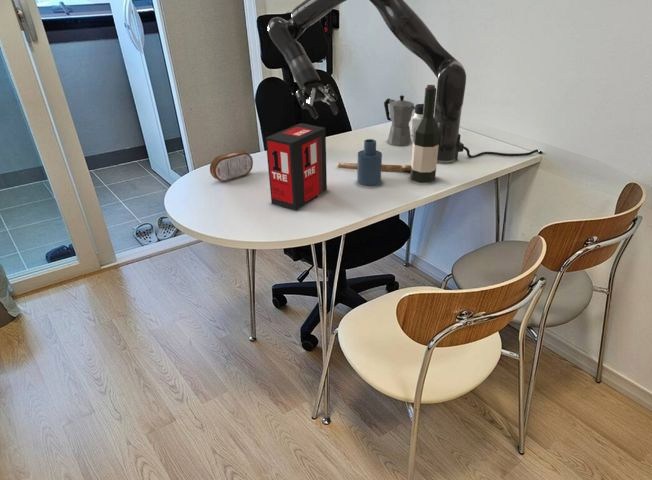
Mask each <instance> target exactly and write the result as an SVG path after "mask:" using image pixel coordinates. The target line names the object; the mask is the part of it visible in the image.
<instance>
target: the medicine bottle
mask: <svg viewBox="0 0 652 480" xmlns="http://www.w3.org/2000/svg"><path fill="white" fill-rule="evenodd" d="M414 106H415V109H414V114H413V115H412V117H411V128H410V137H413V135H414V128H415V126H416V125H417V124H418V122H419V121H420V119H421V118H422V116H423V108H424V102H422V103H421V102H420V103H417V104H415V105H414Z"/></svg>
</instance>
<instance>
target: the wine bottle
mask: <svg viewBox="0 0 652 480" xmlns="http://www.w3.org/2000/svg"><path fill="white" fill-rule="evenodd" d="M436 94H437V87H436V85H435V84H426V87H425V88H424V97H423V103H424V108H423V116H422V118H421V119H420V121H419V122H418V124H417V125H416V126H415V128H414V135H413V136H412V147H411V148H412V149H411V150H412V151H411V164H410V165H411V171H410V174H409V175H410V177H409V178H410V179H411V181H412V182H416V183H419V184H430V183H432V182H434V181H436V173H437V164H438V163H437V156H438V146H439V137H440V130H439V128H438V126H437V124H436V121H435V119H434V112H435V102H436Z"/></svg>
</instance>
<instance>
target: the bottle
mask: <svg viewBox="0 0 652 480" xmlns="http://www.w3.org/2000/svg"><path fill="white" fill-rule="evenodd" d="M382 161H383V153H382V152H381V150H380V151H379V150H377V140H376V139H372V138H368V139H364V141H363V149H361V150H359V151H358V152H357V163H358V169H357V171H356V172H357V175H356V176H357V178H356V181H357V184H359V185H360V186H363V187H376V186H379V185H380V184H381V182H382V170H381V165H382V164H383V163H382Z"/></svg>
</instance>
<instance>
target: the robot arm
mask: <svg viewBox="0 0 652 480" xmlns="http://www.w3.org/2000/svg"><path fill="white" fill-rule="evenodd" d="M346 1H347V0H303V1H302V2H301V3H299V4H298V5H296V6H295V7H294V8H293V9H292V11H291V18H290V19H289V20H286V19H284V18H282V17H280V16H276V17H275V16H274V17H273V18H271V19H270V20H269V22H268V24H267V31H268V35H269V38H270V39H271V41H272V43H273V44H274V45H275V47H276V48H277V49H278V51H279V52H280V53H281V54H282V55H283V58H284V59H285V61H286V63H287V64H288V67H289V70H290V72H291V75H292V77H293V78H294V80H295V82H296V84H297V85H298V87H299V88H298V89H297V91H296V92H295V94H294V95H295V97H296V99H297V102H298V104H299V106H300V108H301V109H302V110H308V112H309V114H310V116H311V118H313V119H314V120H317V119H318V118H319V115H320V114H319V113H318V111H317V109H316V108H315V106H314V103H316V102H320V101H321V102H322V103H326V104H327V105H329V108H330V110H331V113H332V114H333V116H336V115H337V114H338V113H339V108H338V105H337V104H336V102H337V100H338V99H339V97H338V95H337V93H336V92H335V90H334V88H333V86H332V85H331V84H330V83H327V85H323V84H322V81H321V78H320V76H319V74H318V72H317V70H316V68H315V66H314V64H313V63H312V61H311V60H310V58H309V56H308V55H307V53H306V50H305V48H304V47H303V46H302V44H301V43H300V42H299V41H297V40H298V39H299V38H300V36H302V35H303V34H304V32H305V31H306V29H308V28H309V27H311V26H312V25H314V24H315V23H317V22H318V21H320V20H321V19H322V18H324V17H325V16H326V15H327V14H329V13H330V12H331V11H332V10H334V9H335V8H337V7H338V6H339V5H342V4H343V3H345V2H346ZM368 1H369V2H370V3H371V4H372V5H373V6H374V7H375V8H376V10H377V11H378V12H379V14H380V16H381V18H382V19H383V21H384V23H385V25H386V27H387V28H388V29H389V31H390V32H391V33H392V35H393V36H394V37H395V38H396V39H397V40H398V41H399V42H400V43H401V45H403V47H405V48H406V49H407V50H408V51H409V52H411V53H412V54H413V55H415V56H416V57H418V58H419V59H421V60H422V62H424V63H425V64H426V65H427V67H428V68H429V69H430V70H431V72H432V73H433V75H434V76H435V77H436V78H437V85H436V98H435V108H434V119H435V121H436V124H437V126H438V128H439V130H440V137H439V146H438V156H437V164H451V163H454V162H457V161H458V159H459V153H461V152H462V153H463V152H464V151H466V156H467V158H469V159H473V158H474V159H475V158H478V157H480V156H484V155H492V156H500V157H501V156H502V157H525V156H531V155H534V154H536V153H539V154H540V155H542V154H544V152H543V150H541V151H540V152H538V149H537V148H536V149H534V150H531V151H529V152H521V153H506V152H496V151H482V152H479V153H477V154H475V155H472V154H471V152H470V149H469V148H468V147H467V146H465V144H464V143H463V142H462V141H461V136H462V135H461V134H460V126H461V119H462V109H463V106H464V98H465V92H466V86H467V85H466V84H467V73H466V69H465V66H463V64H462V63H461V62H460V61H459V60H458V59H456V58H455V57H454V56H453V55H452V54H450V52H448V51H447V50H446V49H445V48H444V47H443V46H442V45H441V43H440V42H439V41H438V39H437V37H436V36H435V35H434V34H433V32H432V31H431V29H430V28H429V27H428V25H426V23H425V22H424V20H423V19H422V18H421V17H420V16H419V15H418V14H417V13H416V11H415V10H414V9H412V8H411V6H410V5H408V3H407V2H406V1H405V0H368ZM306 98H307V99H306Z"/></svg>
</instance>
